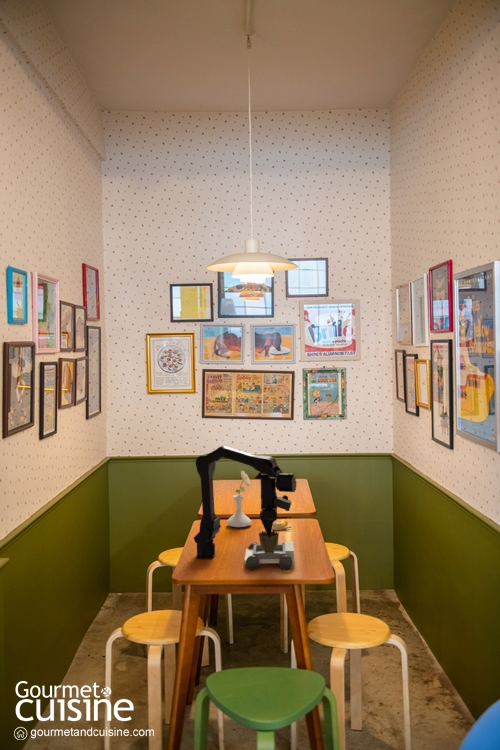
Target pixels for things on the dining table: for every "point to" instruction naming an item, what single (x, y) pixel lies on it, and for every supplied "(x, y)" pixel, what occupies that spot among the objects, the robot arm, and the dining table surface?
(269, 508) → the robot arm
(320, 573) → the dining table surface
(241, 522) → the flower in vase
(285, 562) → the car chassis
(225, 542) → the dining table surface
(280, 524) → the character toy
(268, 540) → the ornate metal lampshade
